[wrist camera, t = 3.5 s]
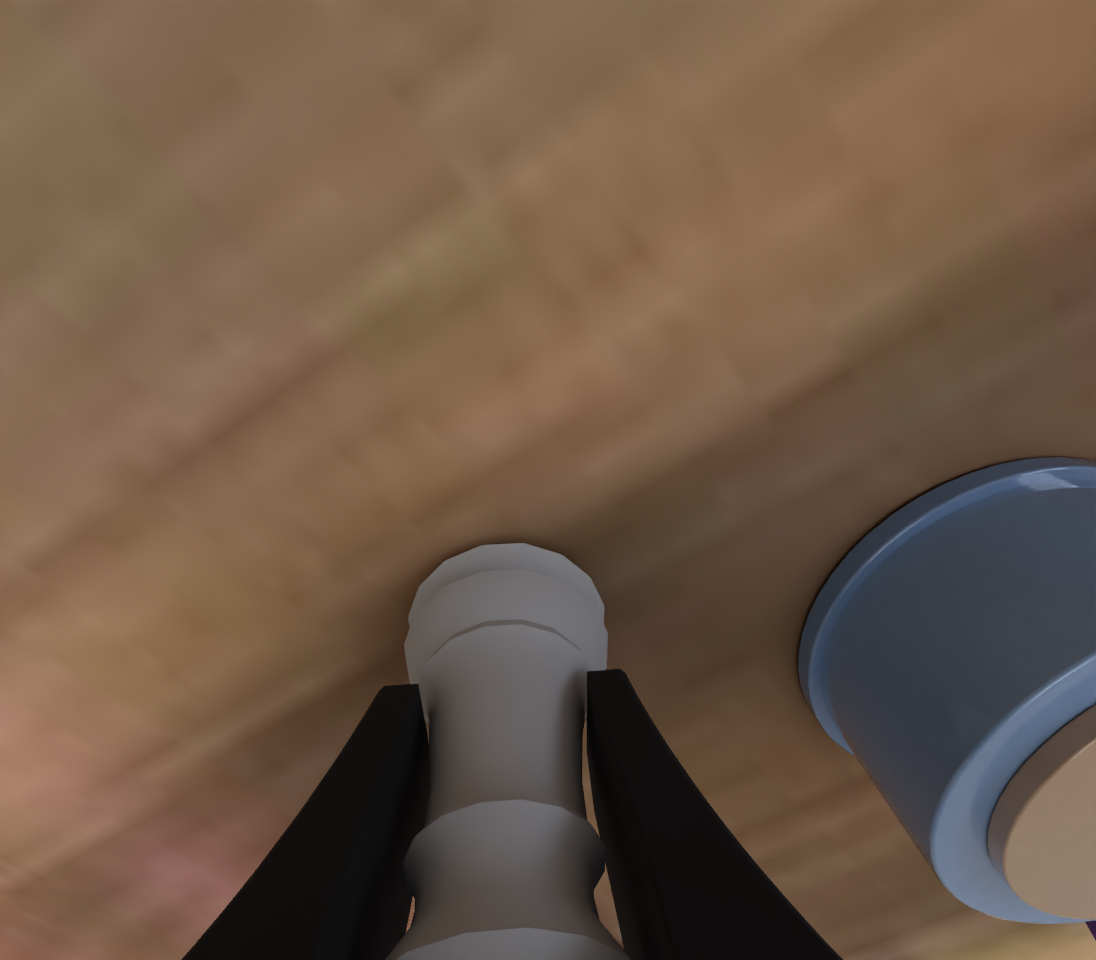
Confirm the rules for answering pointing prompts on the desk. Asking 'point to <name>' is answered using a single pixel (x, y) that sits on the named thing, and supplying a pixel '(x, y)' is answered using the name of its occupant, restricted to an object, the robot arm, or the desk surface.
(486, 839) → the rook chess piece
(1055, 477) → the short blue cylinder
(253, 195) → the desk surface
